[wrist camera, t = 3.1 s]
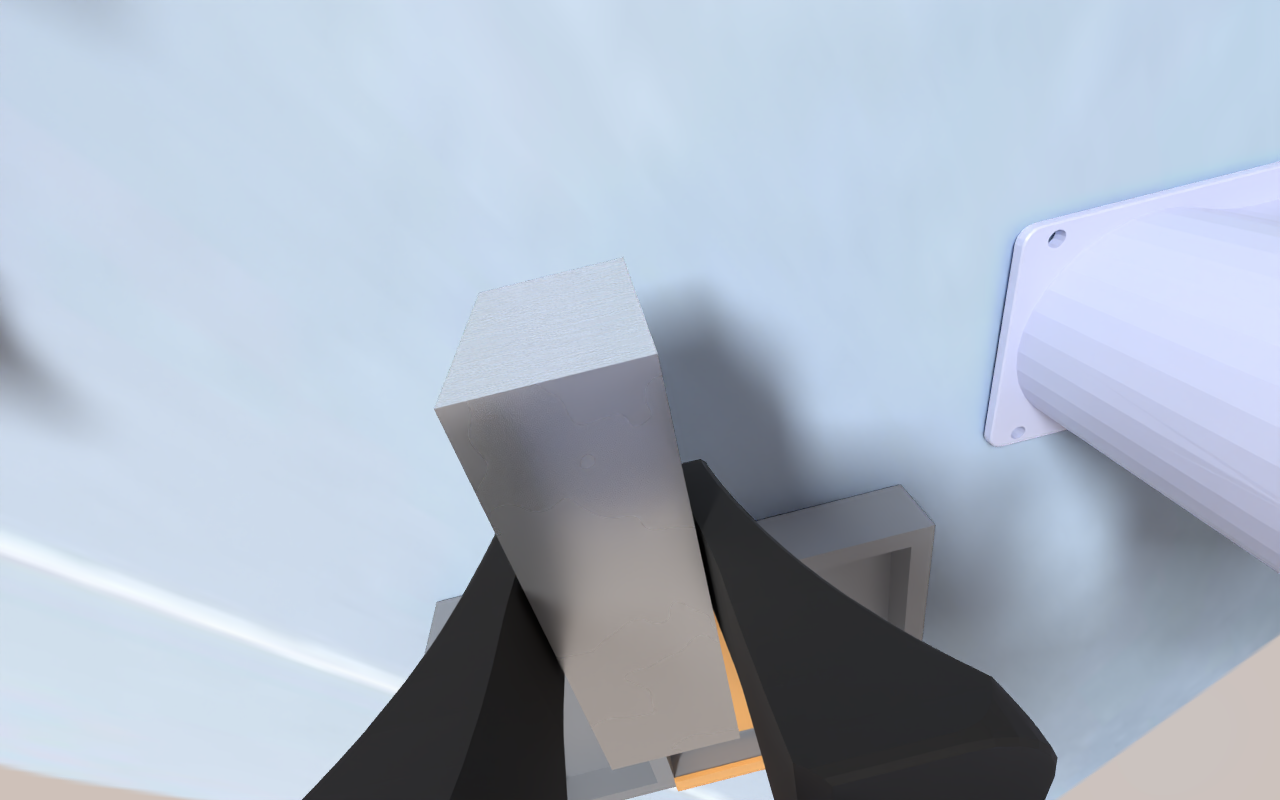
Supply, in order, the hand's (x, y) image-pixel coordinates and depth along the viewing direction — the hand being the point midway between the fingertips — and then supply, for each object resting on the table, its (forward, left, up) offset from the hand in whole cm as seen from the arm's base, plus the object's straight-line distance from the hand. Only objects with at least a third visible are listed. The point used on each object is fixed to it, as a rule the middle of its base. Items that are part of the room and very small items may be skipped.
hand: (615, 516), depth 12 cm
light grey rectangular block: (0, 0, -2) cm, 2 cm away
